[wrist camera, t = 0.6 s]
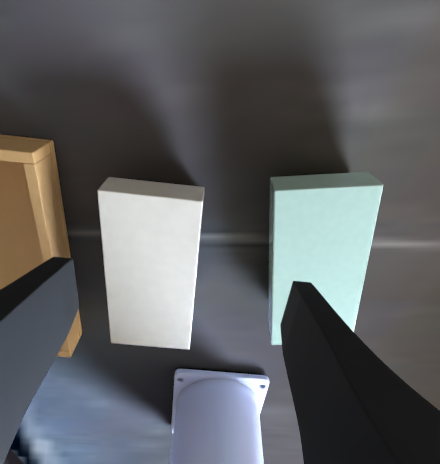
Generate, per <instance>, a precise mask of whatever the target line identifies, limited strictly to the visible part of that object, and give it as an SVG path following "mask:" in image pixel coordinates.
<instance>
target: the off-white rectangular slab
mask: <svg viewBox="0 0 440 464" xmlns="http://www.w3.org/2000/svg"><path fill="white" fill-rule="evenodd" d="M97 192H98V203H99V215H100V226H101V237H102V248H103V260H104V271H105V282H106V293H107V305H108V316H109V327H110V338H111V343H117V344H129V345H140V346H152V347H164V348H176V349H187V350H189V349H190V341H191V332H192V322H193V311H194V300H195V289H196V278H197V268H198V257H199V246H200V235H201V224H202V213H203V203H204V192H205V188H204V187H198V186H189V185H179V184H170V183H161V182H151V181H142V180H133V179H123V178H114V177H108V178H107V179H106V180H105V182H104V183H103V184H102V185H101V186H100V188H99V189H98V190H97Z"/></svg>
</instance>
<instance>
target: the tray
mask: <svg viewBox="0 0 440 464" xmlns="http://www.w3.org/2000/svg"><path fill="white" fill-rule="evenodd" d="M52 257H64V258H71V255H70V248H69V241H68V235H67V228H66V221H65V215H64V208H63V202H62V195H61V188H60V182H59V175H58V168H57V162H56V155H55V149H54V142H53V140H46V139H37V138H28V137H19V136H10V135H1V134H0V290H1V289H2V288H4V287H6V286H7V285H9V284H10V283H12V282H14V281H15V280H17V279H18V278H20V277H22V276H23V275H25V274H26V273H28V272H29V271H31V270H33V269H34V268H36V267H37V266H39V265H40V264H42V263H44V262H45V261H47V260H49V259H50V258H52ZM81 335H82V328H81V321H80V314H79V309H78V311H77V314H76V317H75V319H74V322H73V324H72V327H71V329H70V331H69V334H68V336H67V338H66V340H65V341H64V343H63V345H62V347H61V349H60V351H59V352H58V354H57V356H60V357H71V356H72V354H73V351H74V349H75V347H76V345H77V343H78V341H79V339H80V337H81Z"/></svg>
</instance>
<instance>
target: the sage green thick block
mask: <svg viewBox="0 0 440 464" xmlns="http://www.w3.org/2000/svg"><path fill="white" fill-rule="evenodd" d="M382 189H383V184H382V183H381V182H380V181H379V180H378V179H377V178H376V177H375V176H374V175H373V174H372V173H370V172H354V173H336V174H318V175H301V176H283V177H271V178H270V231H269V307H268V326H269V333H270V340H271V344H272V345H282V340H281V328H280V324H281V321H282V317H283V314H284V310H285V307H286V303H287V300H288V297H289V293H290V290H291V286H292V283H293V281H301V282H311V283H312V284H313V285H314V286H315V287H316V289H317V290H318V291H319V292H320V293H321V295H322V296H323V297H324V298H325V299H326V301H327V302H328V303H329V304H330V305H331V307H332V308H333V309H334V310H335V311H336V313H337V314H338V315H339V316H340V317H341V318H342V320H343V321H344V322H345V323H346V324H347V325H348V326H349V327H350V329H351V330H352V331H353V332H354V328H355V323H356V318H357V313H358V308H359V303H360V298H361V293H362V288H363V283H364V278H365V273H366V268H367V263H368V258H369V253H370V248H371V243H372V238H373V234H374V229H375V224H376V219H377V214H378V209H379V204H380V199H381V194H382Z"/></svg>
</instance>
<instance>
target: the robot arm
mask: <svg viewBox="0 0 440 464" xmlns="http://www.w3.org/2000/svg"><path fill="white" fill-rule="evenodd" d="M78 309H79V298H78V291H77V284H76V276H75V269H74V262H73V258H64V257H52V258H50V259H49V260H47V261H45V262H44V263H42V264H40V265H39V266H37V267H36V268H34V269H33V270H31V271H29V272H28V273H26V274H25V275H23V276H22V277H20V278H18V279H17V280H15V281H14V282H12V283H10V284H9V285H7V286H6V287H4V288H2V289H1V290H0V464H3V463H4V461H5V458H6V456H7V453H8V450H9V449H10V446H11V444H12V442H13V440H14V437H15V435H16V433H17V430H18V428H19V426H20V424H21V421H22V419H23V417H24V415H25V413H26V411H27V409H28V407H29V405H30V403H31V401H32V399H33V397H34V395H35V394H36V392H37V390H38V388H39V386H40V385H41V383H42V381H43V379H44V377H45V376H46V374H47V372H48V370H49V369H50V367H51V365H52V363H53V361H54V360H55V358H56V356H57V354H58V352H59V351H60V349H61V347H62V345H63V343H64V341H65V340H66V338H67V336H68V334H69V331H70V329H71V327H72V324H73V322H74V319H75V317H76V314H77V311H78ZM280 328H281V340H282V349H283V356H284V361H285V366H286V370H287V375H288V379H289V384H290V388H291V393H292V397H293V402H294V406H295V411H296V415H297V420H298V425H299V430H300V436H301V443H302V451H303V459H304V464H440V411H439V410H438V409H437V408H436V407H434V406H433V405H432V404H431V403H429V402H428V401H427V400H426V399H424V398H423V397H422V396H421V395H419V394H418V393H417V392H416V391H415V390H413V389H412V388H411V387H410V386H409V385H408V384H406V383H405V382H404V381H403V380H402V379H401V378H400V377H399V376H397V375H396V374H395V373H394V372H393V371H392V370H391V369H390V368H389V367H388V366H386V365H385V364H384V363H383V362H382V361H381V360H380V359H379V358H378V357H377V356H376V355H375V354H374V353H373V352H372V351H371V350H370V349H369V348H368V347H367V346H366V345H365V344H364V343H363V342H362V341H361V339H360V338H359V337H358V336H357V335H356V334H355V333H354V332H353V331H352V330H351V329H350V327H349V326H348V325H347V324H346V323H345V322H344V321H343V320H342V318H341V317H340V316H339V315H338V314H337V313H336V311H335V310H334V309H333V308H332V307H331V305H330V304H329V303H328V302H327V301H326V299H325V298H324V297H323V296H322V295H321V293H320V292H319V291H318V290H317V289H316V287H315V286H314V285H313V284H312V283H311V282H301V281H293V283H292V286H291V290H290V293H289V297H288V300H287V303H286V307H285V310H284V314H283V317H282V321H281V324H280ZM268 385H269V378H268V377H267V376H265V375H253V374H241V373H229V372H217V371H205V370H193V369H177V370H176V371H175V375H174V391H173V408H172V424H171V432H172V433H173V438H172V446H171V453H170V461H169V464H264V461H263V450H262V439H261V428H260V417H259V415H260V412H261V409H262V405H263V402H264V399H265V395H266V392H267V389H268Z"/></svg>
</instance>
